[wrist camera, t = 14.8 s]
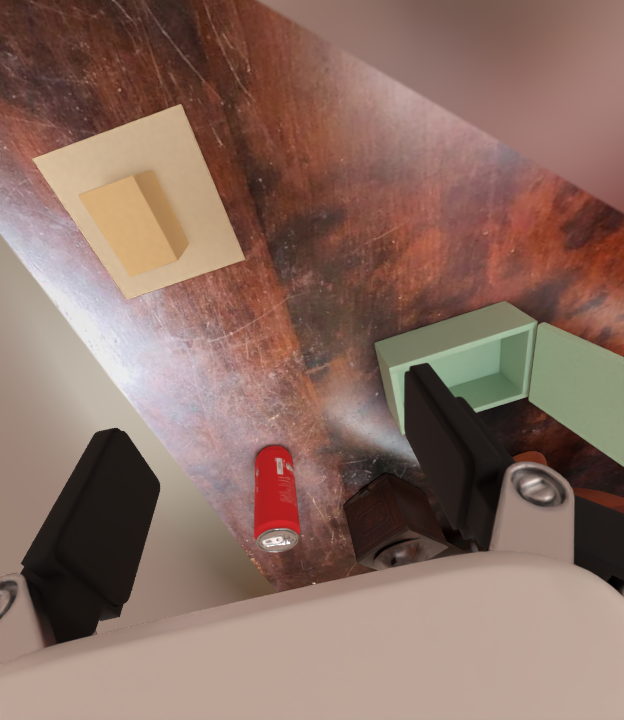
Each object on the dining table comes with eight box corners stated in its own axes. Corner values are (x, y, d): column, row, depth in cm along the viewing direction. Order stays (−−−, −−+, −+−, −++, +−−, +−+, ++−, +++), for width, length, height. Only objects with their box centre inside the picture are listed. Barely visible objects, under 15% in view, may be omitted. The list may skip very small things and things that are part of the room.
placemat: (34, 158, 25) (31, 158, 25) (181, 104, 24) (180, 103, 24) (128, 298, 32) (126, 300, 31) (245, 258, 31) (245, 259, 31)
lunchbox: (387, 406, 44) (401, 435, 40) (373, 342, 38) (388, 368, 34) (501, 371, 43) (528, 396, 39) (505, 300, 38) (537, 321, 33)
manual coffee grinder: (384, 469, 52) (435, 601, 37) (425, 491, 56) (485, 616, 42) (318, 519, 57) (339, 653, 42) (361, 536, 62) (394, 661, 47)
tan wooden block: (106, 186, 26) (77, 194, 22) (152, 170, 26) (132, 175, 22) (148, 258, 30) (130, 277, 25) (189, 244, 29) (178, 260, 25)
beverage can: (294, 464, 48) (303, 548, 38) (259, 471, 48) (259, 557, 38) (289, 440, 45) (297, 524, 35) (251, 447, 45) (249, 533, 35)
